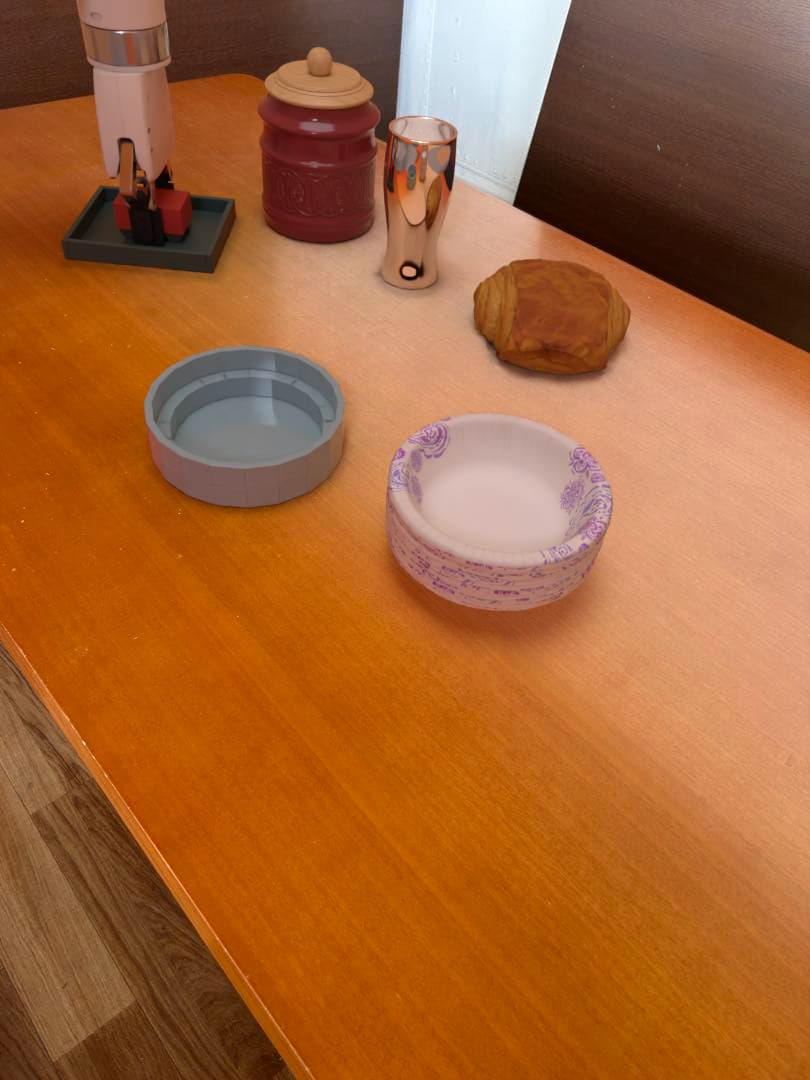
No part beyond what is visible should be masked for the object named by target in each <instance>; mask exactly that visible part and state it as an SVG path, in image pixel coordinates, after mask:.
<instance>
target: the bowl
mask: <svg viewBox="0 0 810 1080" xmlns="http://www.w3.org/2000/svg"><path fill="white" fill-rule="evenodd" d="M143 408H144V419H145V426H146V431H147V436H148V441H149V447H150V451H151V452H150V453H151V457H152V461H153V463H154V465H155V466H156V468H157V470H158V471H159V472H160V474H161V476H162V477H163V478H164V480H165V481H166V482H168V483H169V484H171V485H172V486H173V487H174V488H176V489H177V490H179V491H180V492H182V493H183V494H185V495H186V496H188V497H191V498H194V499H196V500H199V501H202V502H205V503H208V504H211V505H214V506H222V507H235V508H245V509H247V508H257V507H265V506H272V505H279V504H282V503H285V502H288V501H290V500H293V499H296V498H299V497H301V496H304V495H307V494H309V493H310V492H312V491H314V489H315V488H317V487H318V486H320V485H321V484H322V483H324V482H325V481H326V480H328V479H329V478H330V477H331V475H332V474H333V472H334V471H335V469H336V468H337V466H338V465H339V463H340V461H341V460H342V456H343V450H344V449H343V448H344V444H345V443H344V442H345V425H346V424H345V422H346V421H345V420H346V400H345V397H344V394H343V392H342V389H341V385H340V383H339V381H337V380H336V378H335V377H334V376H333V375H332V374H330V372H329V371H328V370H327V369H326V368H325V367H324V366H322V365H321V364H319V363H317V362H315V361H313V360H312V359H309V358H308V357H306V356H305V355H302V354H299V353H295V352H292V351H289V350H285V349H281V348H279V347H271V346H261V345H250V344H249V345H231V346H221V347H216V348H212V349H208V350H205V351H202V352H201V351H200V352H198V353H194V354H191V355H189V356H187V357H185V358H183V359H181V360H180V361H178V362H176V363H174V364H172V365H170V366H169V367H167V368H166V369H164V371H163V372H162V373H161V374H160V375H158V377H156V379H155V380H154V381H153V382H151V384H150V387H149V390H148V391H147V394H146V396H145V398H144V401H143Z"/></svg>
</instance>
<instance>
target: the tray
mask: <svg viewBox="0 0 810 1080" xmlns="http://www.w3.org/2000/svg"><path fill="white" fill-rule="evenodd" d="M118 194H119V186H113V185H103V184H100V185H99V186H98V187H97V189H96V190H95V192H94V193H93V194H92V196H91V197H90V199H89V200H88V201H87V202H86V204H85V206H84V207H83V208H82V210H81V211H80V213H79V214H78V216H77V217H76V218H75V220H74V221H73V223H72V224H71V226H70V227H68V230H67V231H66V233H65V234H64V235H63V236H62V238H61V240H60V242H61V247H62V250H63V255H64V258H65V259H67V260H77V261H87V262H96V263H97V262H98V263H107V264H115V265H116V264H117V265H125V266H127V265H128V266H137V267H149V268H157V269H158V268H159V269H168V270H177V271H188V272H197V273H208V274H214V271H215V269H216V266H217V263H218V261H219V259H220V256H221V254H222V251H223V249H224V246H225V244H226V241H227V239H228V237H229V234H230V231H231V229H232V226H233V224H234V221H235V219H236V216H237V211H236V210H237V209H236V199H235V198H229V197H220V196H209V195H200V194H191V193H190V198H191V207H192V219H191V221H190V223H189V225H188V227H187V229H186V231H185V233H184V235H183V237H182V239H181V241H179V242H177V243H174V242H171V241H169V240H168V239H167V237H166V235H165V233H164V238H165V243H164V245H163V246H161V247H160V246H150V245H139V244H136V243H134V241H133V238H127V237H125V236H124V235H122V233H121V232H120V229H118V228H117V224H116V218H115V213H114V208H113V202H114V200H115V198H116V197H117V195H118Z"/></svg>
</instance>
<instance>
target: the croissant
mask: <svg viewBox="0 0 810 1080" xmlns="http://www.w3.org/2000/svg"><path fill="white" fill-rule="evenodd" d="M472 298H473V319H474V324H476V327H477V332H478V334H480V335H484V336H485V337H486V339H487V341H488V342H489V343H491V344H492V345H493V346H494V351H495V356H496V357H497V358H498V359H499V360H501V361H505V362H508V363H511V364H512V365H514V366H517V367H520V368H524V369H526V370H530V371H535V372H541V373H542V372H543V373H550V374H554V375H571V374H582V373H588V372H594V371H600V370H603V369H606V368H607V367H608V362H609V360H610V357H611V354H612V352H613V351H615V350H616V349H617V347H619V346H620V345H621V343H622V342H623V341H624V339H625V337H626V335H627V332H628V328H629V325H630V321H631V312H632V311H631V309H630V307H629V305H628V303H627V302H626V301H625V300H623V296H621V294H620V293H619V291H618V290H617V289H616V288H614V287H612V285H611V282H610V281H609V280H607V279H606V278H605V275H604V273H600V272H598V271H595V270H593V269H592V268H589V267H587V266H585V265H583V264H581V263H578V262H573V261H568V260H553V259H544V258H525V259H514V260H513V261H510V263H509V264H507V265H503V266H501V267H500V268H499V269H497V270H496V271H495V272H494V274H491V275H490V276H488V277H486V278H485V279H484V280H483V281H481V282H479V284H478V285H477V287H476V288H475V290H474V291H473V296H472Z"/></svg>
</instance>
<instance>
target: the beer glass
mask: <svg viewBox="0 0 810 1080" xmlns="http://www.w3.org/2000/svg"><path fill="white" fill-rule="evenodd" d="M387 132H388V133H387V140H386V147H385V153H384V161H383V162H384V163H383V178H382V189H383V206H384V212H385V222H386V248H385V254H384V257H383V259H382V264H381V269H380V272H381V273H380V274H381V277H382V278H383V279H384V281H385V282H387V283H388V284H390V285H391V286H394V287H396V288H400V289H405V290H421V289H426V288H428V287H431V286H432V285H433V284H435V283H436V281H437V279H438V262H437V261H438V260H437V254H438V253H437V252H438V251H437V250H438V244H439V239H440V235H441V231H442V228H443V225H444V221H445V218H446V215H447V212H448V208H449V205H450V201H451V198H452V193H453V188H454V184H455V183H454V182H455V175H456V165H457V148H458V147H457V146H458V136H459V135H458V134H459V133H458V132H459V131H458V130H457V128H456V127H455V126H454V125H453V124H451V123H450V122H448V121H446V120H443V119H440V118H437V117H433V116H426V115H405V116H404V115H403V116H400V117H397V118H395V119H393V120H391V121H390V122H389V124H388V131H387Z"/></svg>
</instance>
